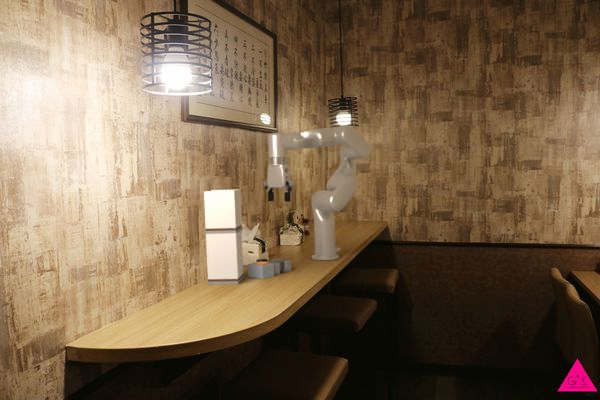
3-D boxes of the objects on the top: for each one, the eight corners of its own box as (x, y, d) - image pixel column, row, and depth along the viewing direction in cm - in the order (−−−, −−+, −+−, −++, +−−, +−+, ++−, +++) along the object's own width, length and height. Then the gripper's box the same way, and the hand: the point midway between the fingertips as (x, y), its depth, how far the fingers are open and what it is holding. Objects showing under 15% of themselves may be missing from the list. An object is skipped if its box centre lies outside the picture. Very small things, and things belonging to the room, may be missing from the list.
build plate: (254, 273, 214) (254, 262, 213) (245, 270, 219) (244, 260, 219) (278, 268, 221) (278, 258, 221) (269, 266, 227) (268, 256, 227)
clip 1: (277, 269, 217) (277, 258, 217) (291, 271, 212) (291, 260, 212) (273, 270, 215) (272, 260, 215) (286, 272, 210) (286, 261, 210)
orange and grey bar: (283, 267, 217) (282, 256, 217) (291, 268, 214) (291, 257, 214) (254, 274, 204) (254, 262, 204) (263, 275, 202) (262, 263, 201)
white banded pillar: (243, 278, 202) (240, 189, 200) (238, 284, 191) (234, 190, 189) (215, 278, 203) (211, 190, 201) (208, 284, 192) (203, 191, 190)
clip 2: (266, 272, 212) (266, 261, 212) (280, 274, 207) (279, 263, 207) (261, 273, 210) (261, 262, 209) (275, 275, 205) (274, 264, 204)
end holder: (259, 273, 209) (259, 261, 209) (274, 275, 204) (273, 263, 204) (248, 276, 204) (247, 264, 204) (263, 279, 199) (262, 266, 199)
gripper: (298, 161, 219) (300, 201, 220) (269, 162, 230) (270, 200, 231) (287, 161, 213) (288, 202, 214) (257, 162, 224) (258, 201, 225)
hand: (279, 201), depth 223 cm, fingers open, 9 cm apart
